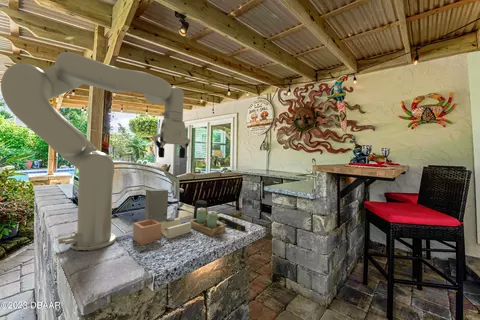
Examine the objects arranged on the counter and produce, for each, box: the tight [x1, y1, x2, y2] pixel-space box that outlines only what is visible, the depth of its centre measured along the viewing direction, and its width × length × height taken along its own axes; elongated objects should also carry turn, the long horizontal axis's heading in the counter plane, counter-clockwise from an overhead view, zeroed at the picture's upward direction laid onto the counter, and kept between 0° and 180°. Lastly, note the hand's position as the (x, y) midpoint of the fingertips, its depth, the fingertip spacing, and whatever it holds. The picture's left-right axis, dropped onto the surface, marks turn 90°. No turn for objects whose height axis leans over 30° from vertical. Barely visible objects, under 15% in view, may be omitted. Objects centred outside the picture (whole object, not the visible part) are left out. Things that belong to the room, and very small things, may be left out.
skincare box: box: [143, 188, 169, 222], centre depth 91 cm, size 8×7×16 cm
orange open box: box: [132, 219, 162, 246], centre depth 75 cm, size 7×7×6 cm
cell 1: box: [196, 208, 207, 224], centre depth 89 cm, size 4×4×8 cm
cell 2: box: [206, 210, 218, 229], centre depth 84 cm, size 4×4×8 cm
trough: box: [187, 218, 227, 237], centre depth 87 cm, size 8×15×3 cm, turn 50°
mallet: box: [193, 199, 247, 232], centre depth 94 cm, size 29×6×10 cm, turn 58°
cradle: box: [159, 217, 192, 239], centre depth 81 cm, size 10×9×5 cm
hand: (172, 157), depth 86 cm, fingers open, 9 cm apart
